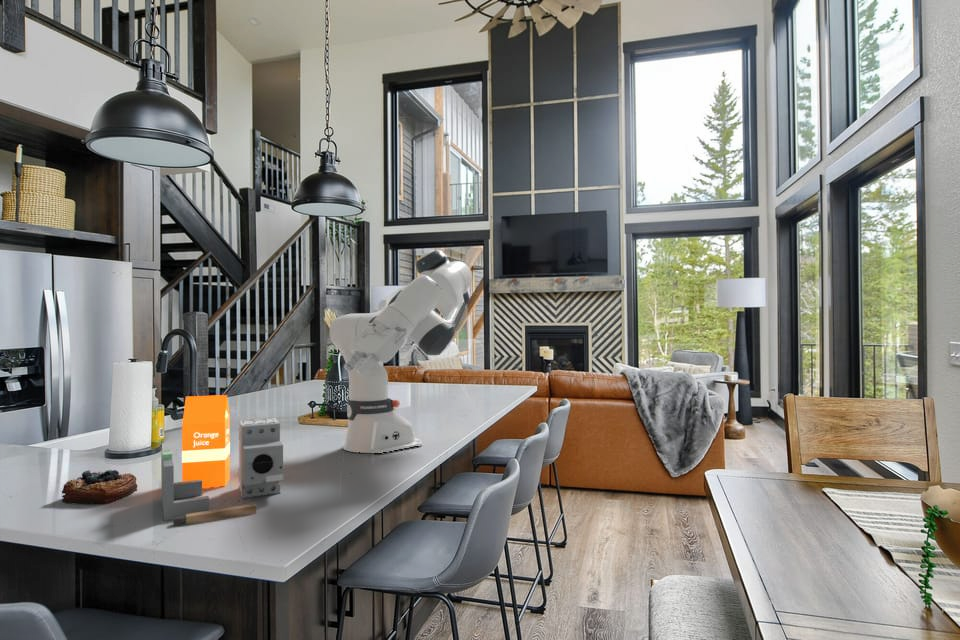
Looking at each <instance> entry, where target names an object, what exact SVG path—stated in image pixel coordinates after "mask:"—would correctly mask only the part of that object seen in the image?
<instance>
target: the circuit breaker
mask: <svg viewBox="0 0 960 640" xmlns="http://www.w3.org/2000/svg"><path fill="white" fill-rule="evenodd" d="M238 425H239V426H238V441H239V442H238V443H239V444H238V447H239V449H238V451H239V452H238V453H239V454H238V456H239V457H238V458H239V459H238V461H239V462H238V463H239V464H238V465H239V467H238V483H239V486H238V488H240V489H239V492H241V493H240V495H241V498H242V499H246V498H247V497H248V498H255V497H261V495H263V496H268V495H267V494H270V495H275V494H274V493H277V494H281V484H280V482H283V481H284V444H283V443H282V441H281V423H280V421H278V420H277V419H276V417H268V418H259V419H255V418H254V419H244V420H243V419H242V420H238ZM254 496H255V497H254ZM248 498H247V499H248Z"/></svg>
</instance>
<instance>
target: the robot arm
mask: <svg viewBox="0 0 960 640" xmlns="http://www.w3.org/2000/svg"><path fill="white" fill-rule="evenodd" d="M415 267H416V271H417V272H418V274H419V275H418V276H416V277H415V278H414V279H412V281H410V282H409V283H408V284H406V285H403V286H401V287H400V288H398V289H397V290H395V291H394V292H392V293H391V294H389V295H388V296H386V297H384V298H383V299H382V300H381V301H380V302H379V303H378V305H377V311H375V312H369V313H368V312H367V313H362V312H361V313H357V312H356V313H348V314H343V315H339V316H338V317H336V318H334V319H333V321H332V322H331V323H330V327H329V338H330V340H331V343H332V345H334V346H335V347H336V348H337V349H338V351H339V352H340V353H341V355H342V358H343V360H344V362H345V364H344V366H343V368H344V369H345V370H346V371H347V375H348V393H349V394H348V399H347V406H346V408H347V409H346V410H347V411H346V412H347V413H346V415H347V419H348V422H347V423H348V424H347V432H346V437H345V442H344V445H343V449H344V450H345V451H346V452H347V451H348V452H351V453H359V452H360V453H362V454H363V453H364V454H374V453H382V454H384V453H383V452H387V453H390V452H389V451H392V452H394V451H393V450H398V449H403V448H408V447H413V446H418V445H421V444H422V445H423V441H422V440H421V439H419V438H417V437H415V433H414V427H413V425H412V423H411V422H410V421H409V420H407V419H406V418H404V417H403V416H402V415H401V414H399V413H398V412H397V411H395V408H399V406H400V404H401V402H400V401H399V400H398V399H391V398H389V378H388V376H389V374H388V372H387V369H386V368H385V367H384V366H383V365H382V364H380V363H383V364H387V363H388V362H389V361H391V360H392V359H393V357H395V355H396V354H397V353H398V351H399V350H400V349H402V348H403V347H405V345H406V343H407V341H408V339H409V340H410V341H412V342H413V343H414V344H415V345H416V346H417V347H418V348H419V349H420V350H421V351H422V352H423V353H424V354H425V355H426V356H440V355H441V354H443V353H444V352H445V351H447V349H448V348H449V347H450V346H451V344H452V342H453V340H454V336H455V334H456V330H457V328H458V326H459V324H460V321H461V319H462V317H463V314H464V312H465V309H466V306H467V305H468V304H469V303H470V300H471V299H470V294H469V292H468V289H469V288H470V285H471V283H472V279H473V274H472V271H471V268H470V266H468V265H467V264H466V263H465V262H462V261H458V260H454V261H450V259H449V258H448V255H446V253H444V252H443V251H442V250H441V249H430V250H428V251H425V252H424V253H423V254H421V255H420V256H419V258H418V259H417V260H416V262H415ZM437 312H439V313H440V314H441V315H440V314H439V313H437ZM403 450H404V449H403ZM398 451H399V450H398ZM360 453H359V454H360Z"/></svg>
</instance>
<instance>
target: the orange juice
mask: <svg viewBox="0 0 960 640" xmlns="http://www.w3.org/2000/svg"><path fill="white" fill-rule="evenodd" d="M228 399H229V398H228V395H227V394H222V395H220V394H215V395H195V396H189V395H188V396H185V401H184V410H183V415H182V423H181V477H182V478H181V482H185V481H192V480H200V479H202V489H211V488H210V487H214V488H221V487H220V486H225V487H226V486H227V485H228V482H229V481H230V478H231V476H230V475H231V470H230V469H231V466H230V465H231V464H230V463H231V461H230V459H231V458H230V457H231V456H230V455H231V454H230V453H231V442H230V441H231V439H230V438H231V437H230V433H231V431H230V428H231V424H230V422H231V420H230V411H229V410H230V409H229V408H230V407H229V401H228Z"/></svg>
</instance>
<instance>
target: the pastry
mask: <svg viewBox="0 0 960 640" xmlns="http://www.w3.org/2000/svg"><path fill="white" fill-rule="evenodd" d="M137 480H138V479H137V477H136V476H135V474H132V473H122V474H120V471H118V470H117V469H113V470H112V469H108V470H105V471H102V470H100V471H95V472H91V470H90V469H89V470H85V471H83V472H82V473H81V476H79V477H77V479H76V478H73V479H70V480H68V481H67V482H66V483H64V485H63V488H62V490H61V494H63V495H62V496H61V497H62V498H63V499H61V502H62V503H63V502H65V503H64V504H72V503H76V505H107V504H106V503H108V504H111V503H114V502H113V501H115V502H117V501H116V500H118V501H120V500H123V499H125V498H127V497H129V496H131V495H133V494H134V493H135V492H137V490H138V484H137ZM124 497H125V498H124ZM122 498H123V499H122ZM119 499H120V500H119ZM110 502H111V503H110Z"/></svg>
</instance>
